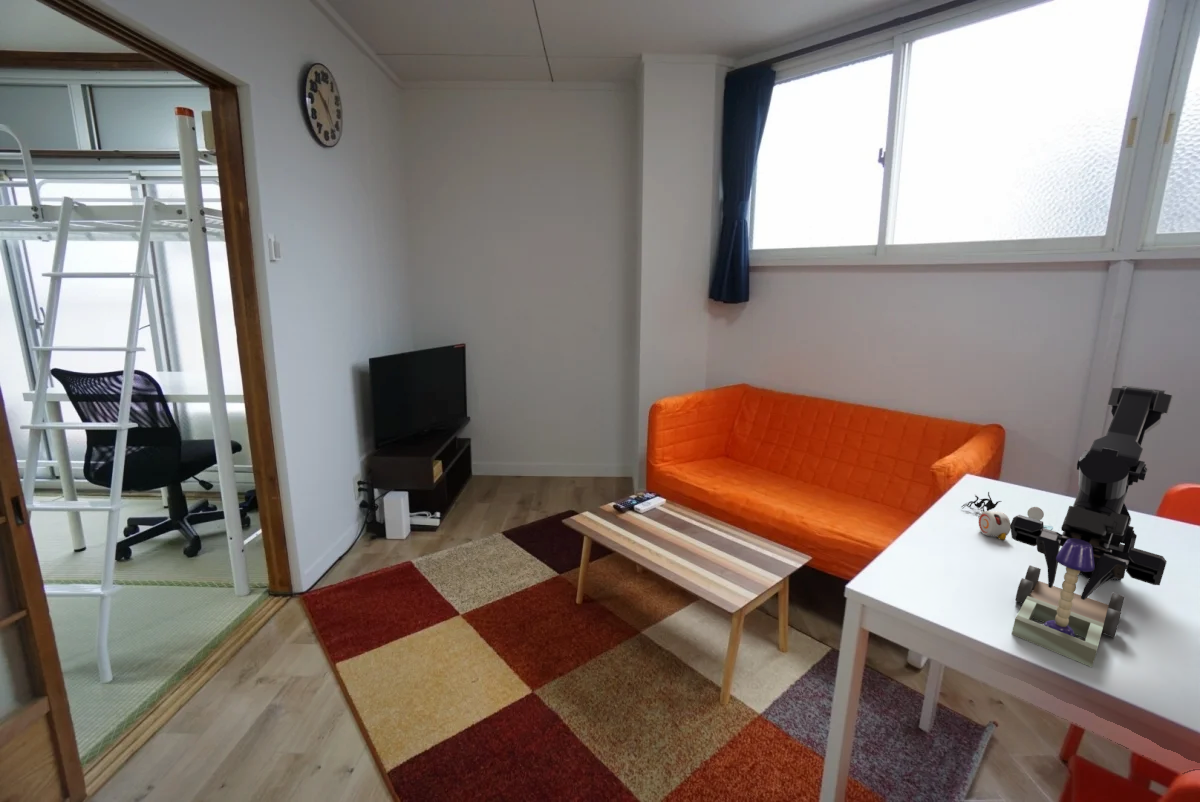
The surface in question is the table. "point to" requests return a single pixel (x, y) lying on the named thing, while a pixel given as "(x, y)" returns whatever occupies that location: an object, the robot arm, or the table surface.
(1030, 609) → the chassis
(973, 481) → the table surface
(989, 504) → the creature
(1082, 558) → the toy lamp
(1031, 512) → the pacifier
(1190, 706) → the table surface
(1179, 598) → the table surface
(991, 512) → the roller toy
